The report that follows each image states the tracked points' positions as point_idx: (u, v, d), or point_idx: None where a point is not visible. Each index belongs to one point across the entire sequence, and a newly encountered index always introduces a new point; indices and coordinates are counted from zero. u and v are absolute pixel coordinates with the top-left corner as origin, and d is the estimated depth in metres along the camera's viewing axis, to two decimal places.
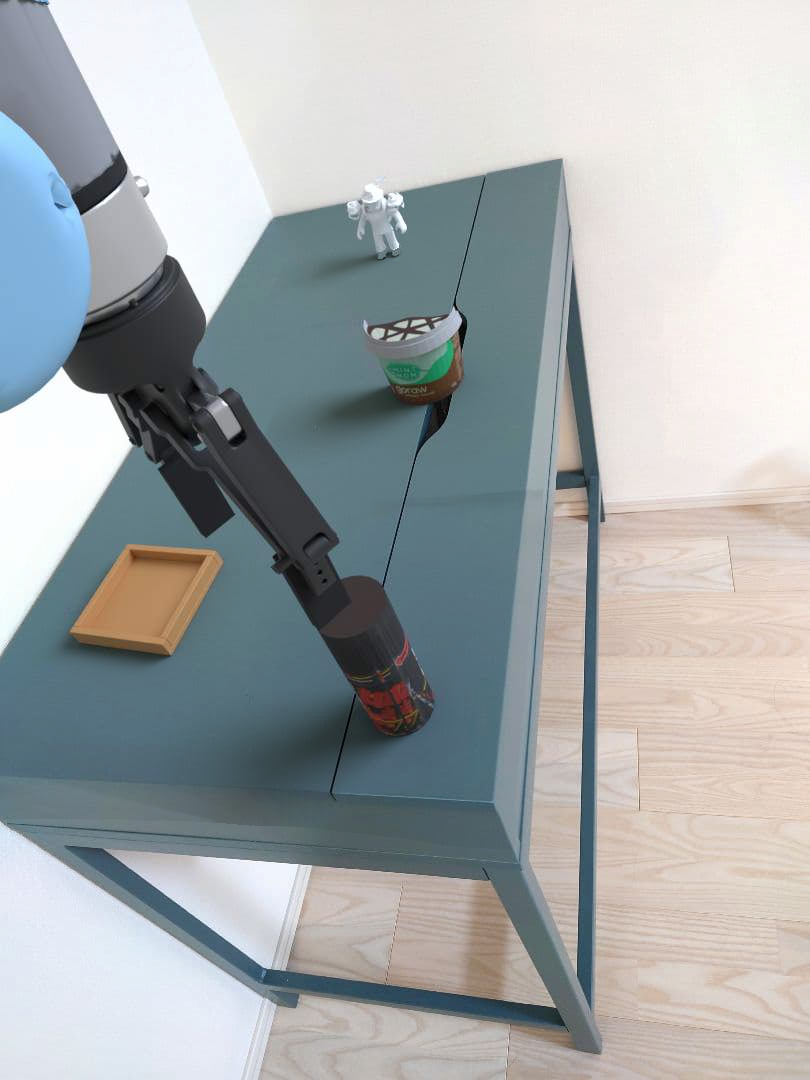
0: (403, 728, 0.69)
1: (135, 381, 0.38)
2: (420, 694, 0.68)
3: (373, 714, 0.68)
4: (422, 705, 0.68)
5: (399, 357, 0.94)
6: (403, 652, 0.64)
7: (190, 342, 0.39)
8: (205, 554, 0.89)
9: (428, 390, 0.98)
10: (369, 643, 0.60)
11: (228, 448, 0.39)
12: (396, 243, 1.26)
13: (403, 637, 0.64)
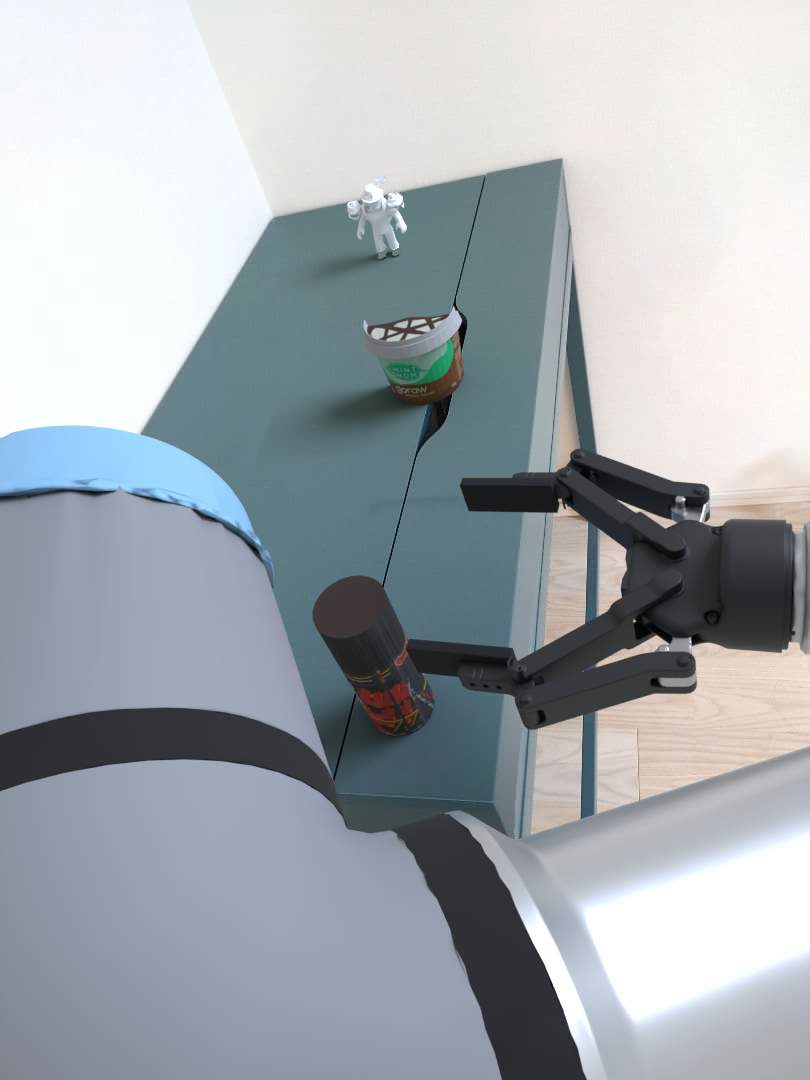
0: (403, 728, 0.69)
1: (729, 610, 0.43)
2: (420, 694, 0.68)
3: (373, 714, 0.68)
4: (422, 705, 0.68)
5: (399, 357, 0.94)
6: (403, 652, 0.64)
7: (731, 647, 0.45)
8: None
9: (428, 390, 0.98)
10: (369, 643, 0.60)
11: (653, 676, 0.43)
12: (396, 243, 1.26)
13: (403, 637, 0.64)
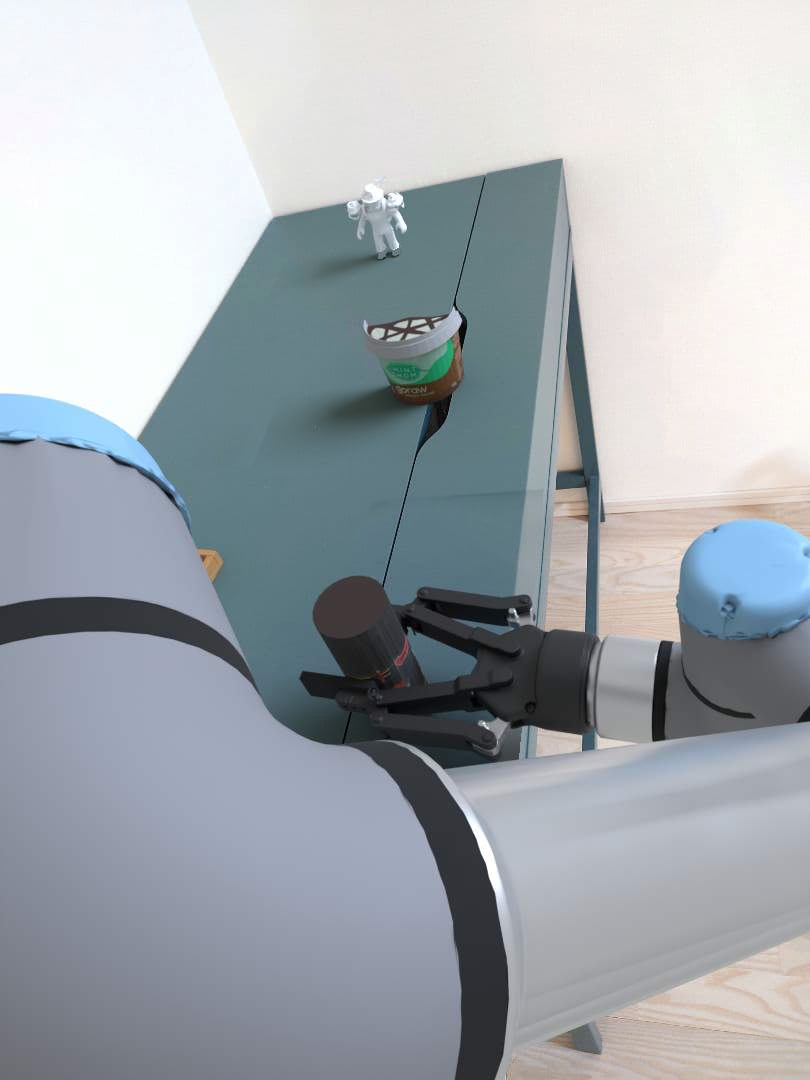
0: None
1: (540, 704, 0.57)
2: None
3: None
4: None
5: (399, 357, 0.94)
6: (403, 652, 0.64)
7: (548, 729, 0.59)
8: (205, 554, 0.89)
9: (428, 390, 0.98)
10: (369, 643, 0.60)
11: (465, 739, 0.58)
12: (396, 243, 1.26)
13: (403, 637, 0.64)
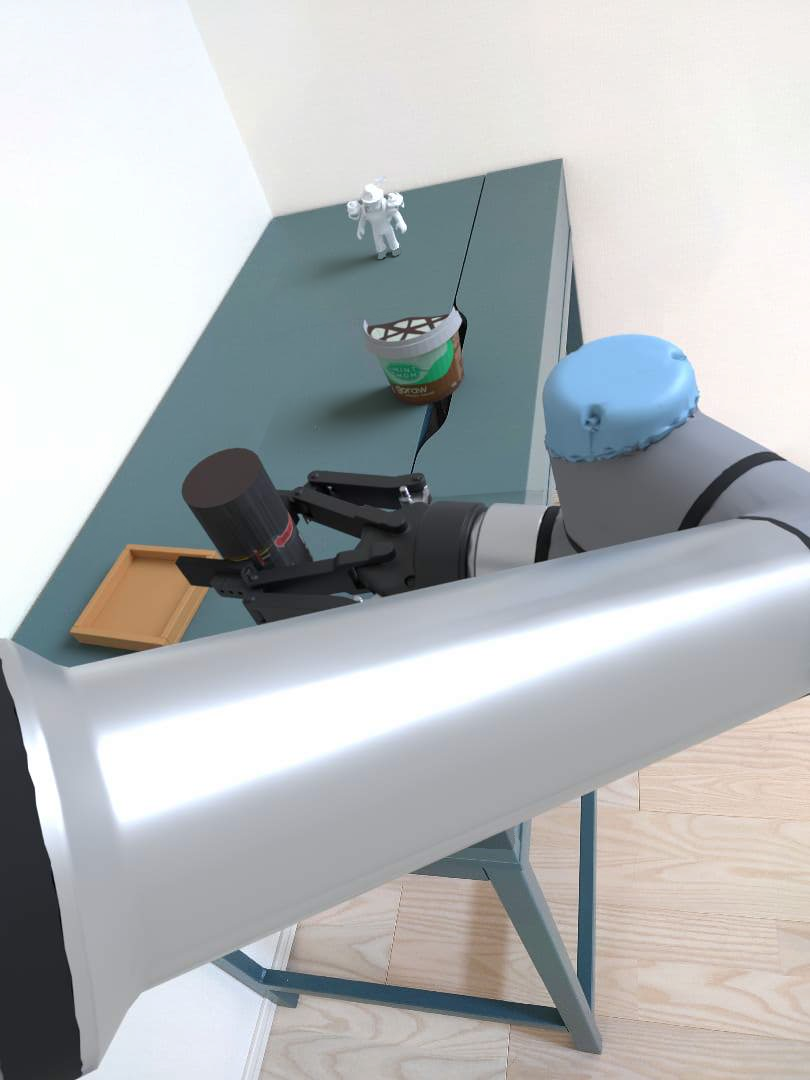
0: None
1: (419, 575, 0.52)
2: None
3: None
4: None
5: (399, 357, 0.94)
6: (285, 533, 0.59)
7: None
8: (205, 554, 0.89)
9: (428, 390, 0.98)
10: (239, 514, 0.55)
11: None
12: (396, 243, 1.26)
13: (285, 517, 0.59)
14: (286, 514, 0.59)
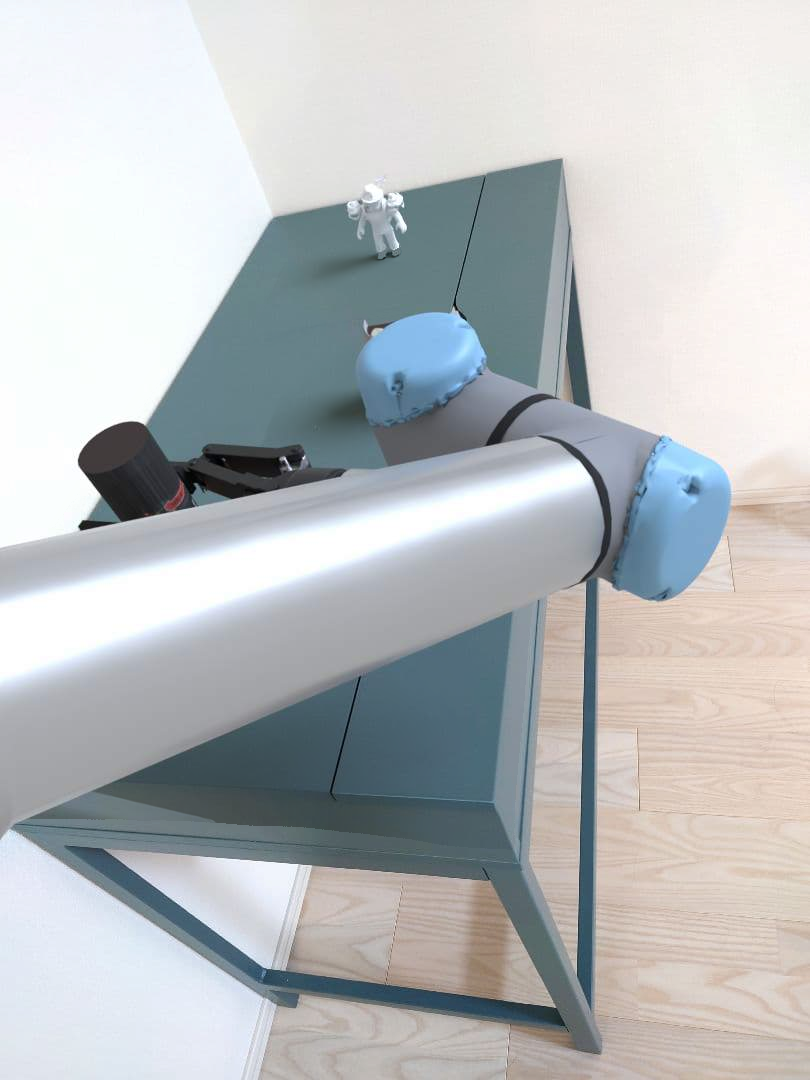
0: None
1: None
2: None
3: None
4: None
5: None
6: (175, 499, 0.65)
7: None
8: None
9: None
10: (128, 480, 0.61)
11: None
12: (396, 243, 1.26)
13: (176, 484, 0.65)
14: (177, 482, 0.66)
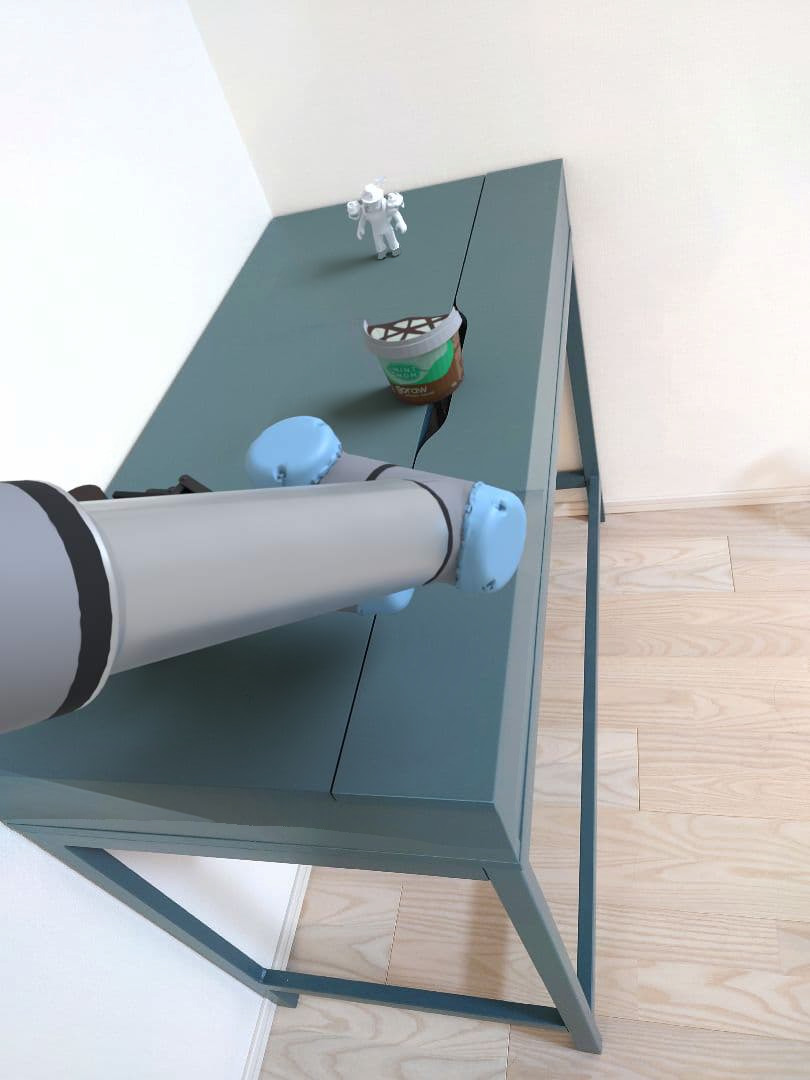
0: None
1: None
2: None
3: None
4: None
5: (399, 357, 0.94)
6: None
7: None
8: None
9: (428, 390, 0.98)
10: None
11: None
12: (396, 243, 1.26)
13: None
14: None
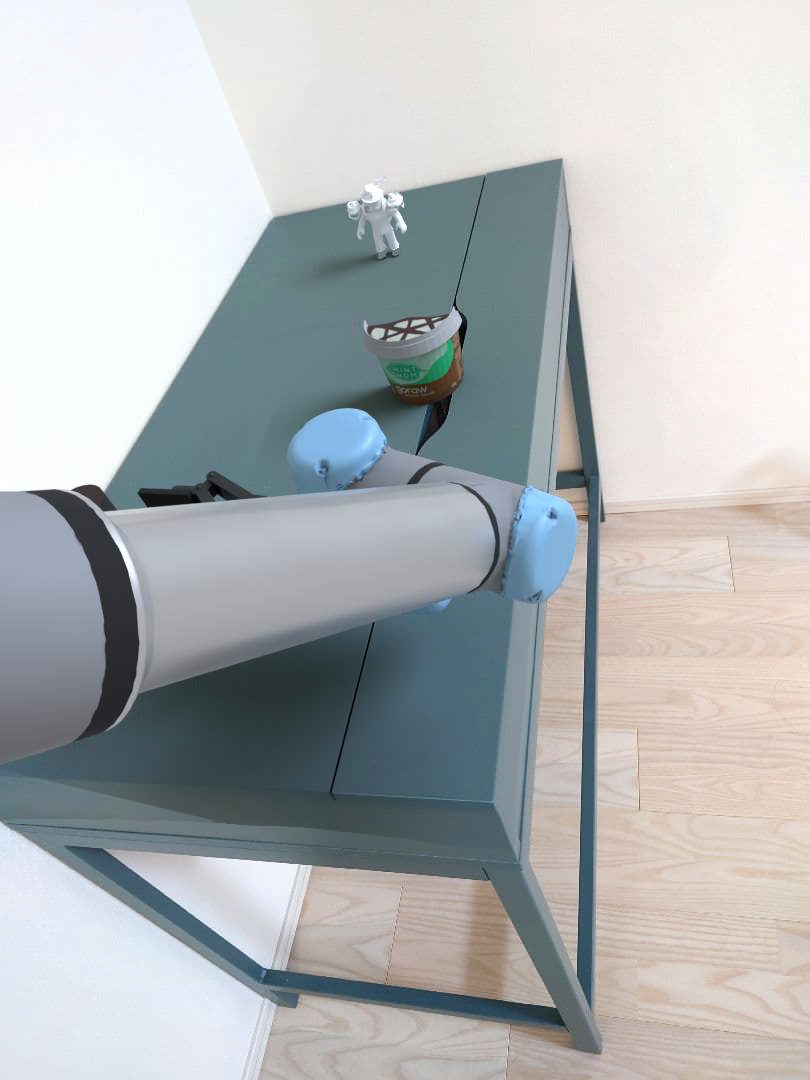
0: None
1: None
2: None
3: None
4: None
5: (399, 357, 0.94)
6: None
7: None
8: None
9: (428, 390, 0.98)
10: None
11: None
12: (396, 243, 1.26)
13: None
14: None
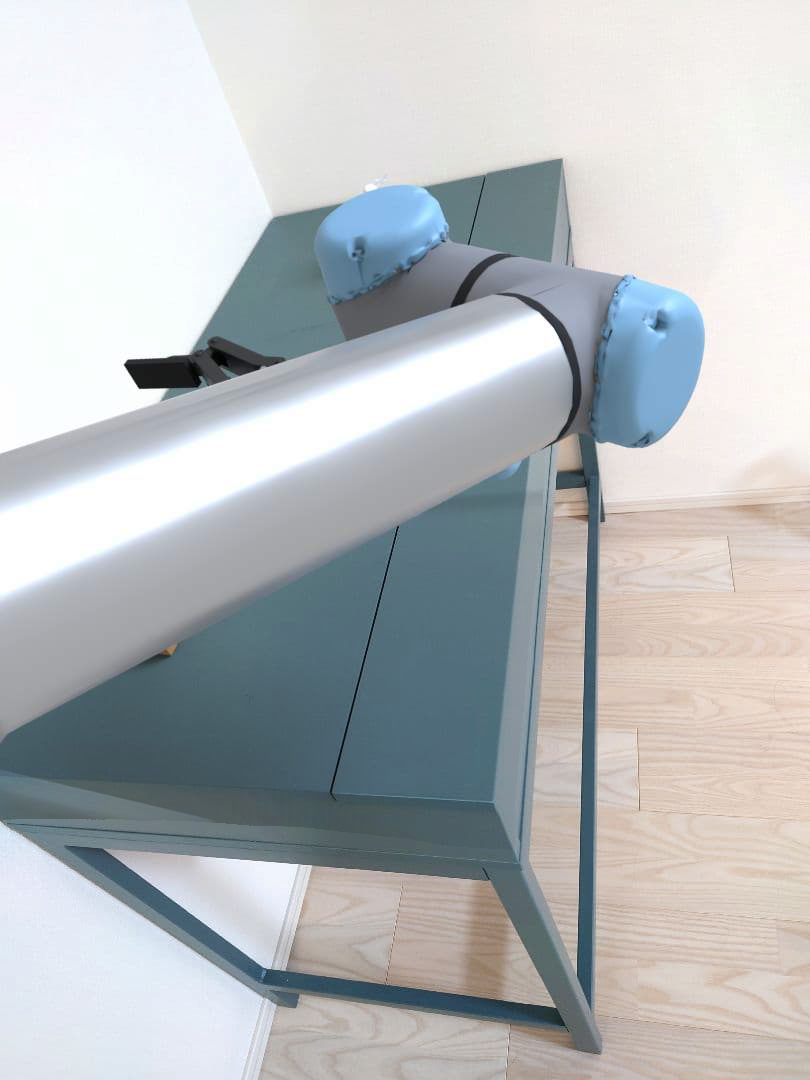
0: None
1: None
2: None
3: None
4: None
5: None
6: None
7: None
8: None
9: None
10: None
11: None
12: None
13: None
14: None
